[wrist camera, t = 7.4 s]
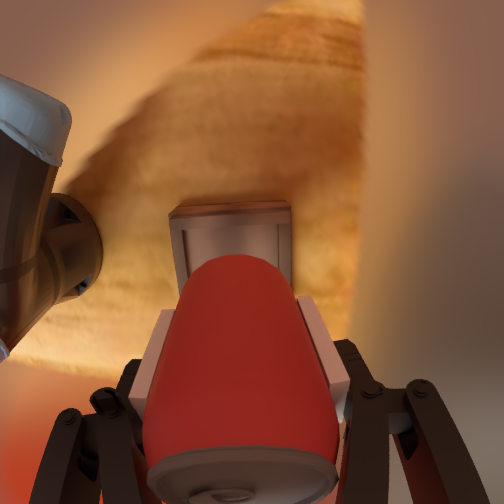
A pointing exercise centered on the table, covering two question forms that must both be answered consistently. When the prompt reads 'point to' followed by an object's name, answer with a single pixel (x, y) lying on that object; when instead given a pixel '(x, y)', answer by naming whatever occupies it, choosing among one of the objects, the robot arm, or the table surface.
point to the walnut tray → (230, 234)
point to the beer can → (239, 395)
